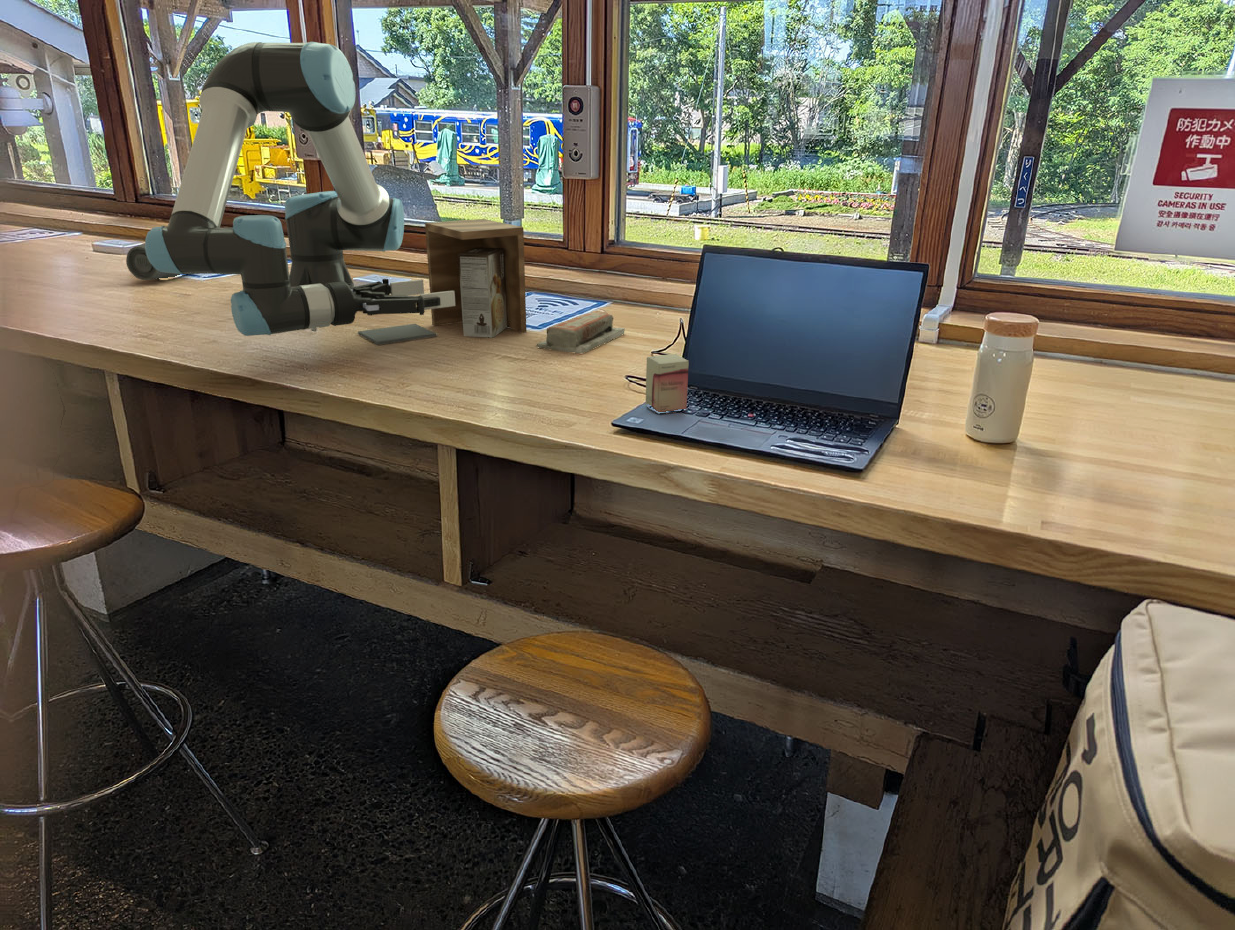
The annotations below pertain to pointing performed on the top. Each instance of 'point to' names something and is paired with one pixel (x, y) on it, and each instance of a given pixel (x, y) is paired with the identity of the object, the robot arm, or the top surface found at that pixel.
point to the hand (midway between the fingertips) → (438, 292)
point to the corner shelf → (466, 235)
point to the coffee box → (483, 291)
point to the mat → (396, 334)
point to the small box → (667, 382)
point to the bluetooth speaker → (143, 265)
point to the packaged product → (581, 333)
